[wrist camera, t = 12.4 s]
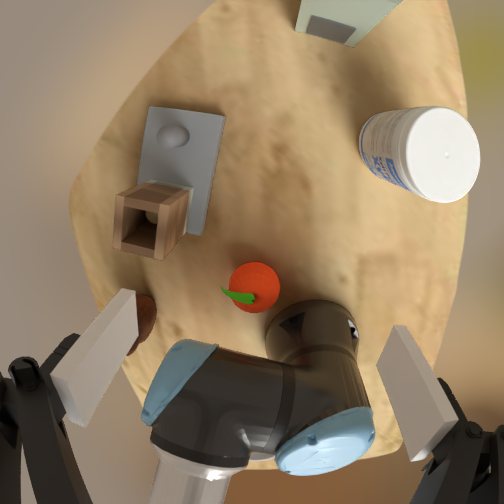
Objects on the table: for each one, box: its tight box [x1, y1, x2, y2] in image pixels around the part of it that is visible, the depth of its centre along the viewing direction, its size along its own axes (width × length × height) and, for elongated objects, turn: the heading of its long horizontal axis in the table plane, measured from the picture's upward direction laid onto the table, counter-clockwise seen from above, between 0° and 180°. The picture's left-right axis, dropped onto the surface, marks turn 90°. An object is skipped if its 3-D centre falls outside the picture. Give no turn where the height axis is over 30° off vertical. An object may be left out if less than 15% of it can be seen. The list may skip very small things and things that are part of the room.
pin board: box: [137, 106, 226, 236], centre depth 36 cm, size 16×10×7 cm, turn 168°
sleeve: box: [113, 180, 194, 261], centre depth 34 cm, size 6×6×10 cm
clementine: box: [221, 262, 280, 313], centre depth 41 cm, size 8×7×7 cm
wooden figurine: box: [126, 295, 157, 356], centre depth 40 cm, size 7×6×15 cm
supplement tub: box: [359, 106, 480, 203], centre depth 29 cm, size 10×10×15 cm
